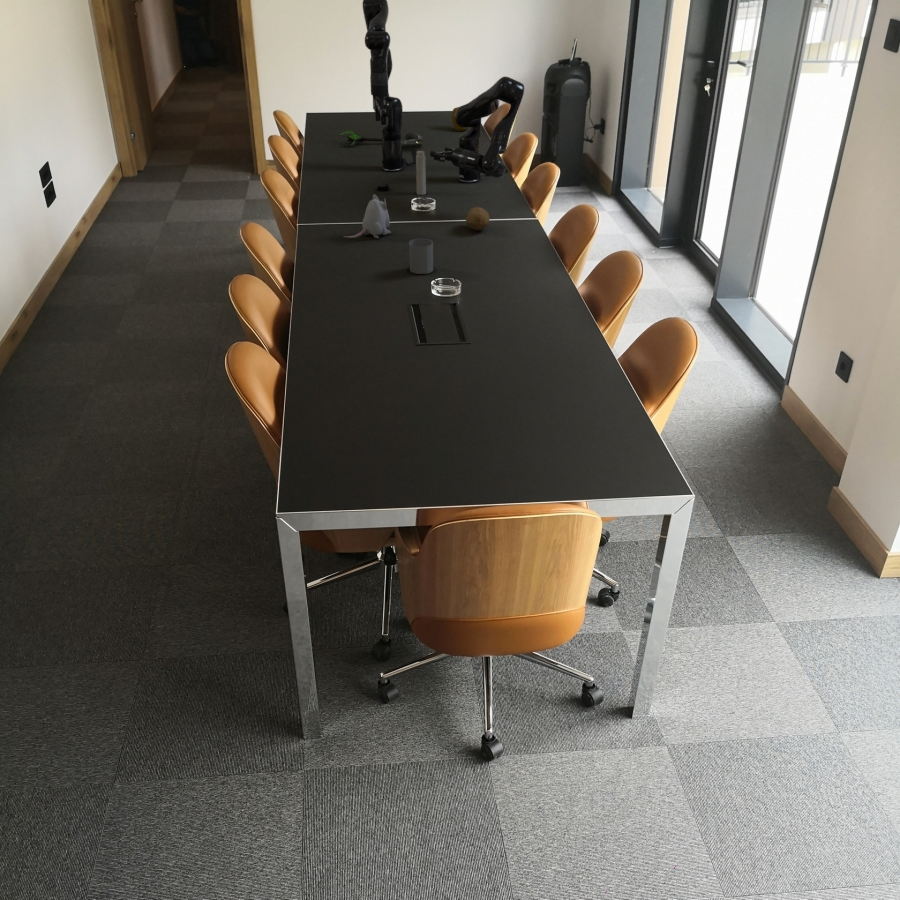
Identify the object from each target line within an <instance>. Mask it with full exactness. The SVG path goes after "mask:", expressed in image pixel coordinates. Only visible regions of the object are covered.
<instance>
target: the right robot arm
mask: <svg viewBox="0 0 900 900" xmlns="http://www.w3.org/2000/svg"><path fill="white" fill-rule="evenodd" d="M524 94H525V85H524V83H523V82H521V81H518V80H517V79H514V78H512V77H509V76H502V77H500V78H498V80H497V81H496V82H495V83H494V84H493V85H492V86H490V87H489V88H488V89H487V90H485V91H484V92H482V93H480V94H478V95H477V96H476V97H475V98H473V99H472V100H471V101H469V102H467V103H465V104H463V105H460V106H458V107H459V108H458V109H457V111H456V113H455V121H456V123H457V125H458V126H460V127H463V128H466V127H468V129H467V131H465V132H463V133H462V134H460V135H459V137H458V147H455V148H454V147H453V148H452V147H451V148H450V147H444V150H442V151H440V152H439V151H435V150H430V151H429V155H430V157H431V158H433V161H437V162H442V163H445V162H446V161H447V162H451V163H452V165H453V166H455V167H458V181H459V182H460V183H464V184H465V183H466V184H471V183H472V184H473V183H477V182H479V181H480V180H481V174H484V175H486V176H487V177H488V176H489V177H491V178H494V179H495V178H496V179H498V178H502V177H503V176H504V175H505V173H506V172H508V168H507V167H506V164H505V163H504V162H503V161H502V160H501V159H500V158H499V155H503V154H505V153H506V151H507V148H508V145H509V140H510V135H511V131H512V129H513V126H514V123H515V120H516V118H517V115H518V113H519V109H520V106H521V103H522V101H523V97H524ZM501 102H503V103H506V104H507V105H509V109H508V111H507V113H506V114H505V116H504V117H503V118H501V119H500V120H499V121H498V122H497V123H496V124H495V126H494V128H493V130H492V133H491V138H490V142H489V146H488V147H487V149H486V151H485V153H484V154H483V153H480V138H481V130H482V119H483V118H486V117H489V116H491V115H493V114H494V113H496V112H497V110H498V109H499V107H500V103H501Z"/></svg>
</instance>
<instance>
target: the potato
mask: <svg viewBox="0 0 900 900" xmlns="http://www.w3.org/2000/svg"><path fill="white" fill-rule="evenodd" d="M490 220H491V219H490V214H489V212H488V211H487V210H485V209H484V208H483V207H480V206H474V207H472V208H470V209H469V210H468V211H467V213H466V215H465V224H466V225H467V227H468V228H469V229H471V230H474V231H482V230H484V229H485V228H487V227H488V225H489V222H490Z"/></svg>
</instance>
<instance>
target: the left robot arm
mask: <svg viewBox="0 0 900 900" xmlns="http://www.w3.org/2000/svg"><path fill="white" fill-rule="evenodd" d="M389 11H390V10H389V4H388V0H362V13H363V18H364V22H365V27H366V33H365V36H364V45H365V47H366V48H367V49H368V50H369V52H370V53H369V54H370V59H369V66H370V67H369V68H370V74H369V75H370V76H369V80H370V95H371V96H372V110H374V111H373V112H374V117H375V118H374V119H375V122H380V125H381V138H382V142H381V151H382V152H381V153H382V160H381V164H382V170H383V171H385V172H400V171H402V170H403V166H405V165H407V166H412V165H414V164H416V159H415V160H413V161H411V162H407V160H406V157H404V156H403V148H402V127H403V103H402V101H401V99H400V98H399V97H396V96H390V91H389V80H390V77H391V75H392V72H393V59H392V52H391V49H390V45H391V36H390V34H389V32H387V28H386V27H387V26H386V25H387V23H388V20H389V14H390V12H389Z"/></svg>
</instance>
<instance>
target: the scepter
mask: <svg viewBox="0 0 900 900" xmlns="http://www.w3.org/2000/svg"><path fill="white" fill-rule="evenodd" d="M345 134H349V135H347V136H346V138H347V140H346V142H348V143H351V144H346V143H343V142H340V141H338V142H337V143H338V144H340V145H342V146H343V147H349V148H351V147H352V148H353V147H354V146H355V145H358V144H361V143H363V142H380V143H382V137H380V138H377V137H364V136H362V135H360V134H358V133H356V132H355V131H352V130H346V131H343V132H341V133H339V134H338V136H341V135H345Z"/></svg>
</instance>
